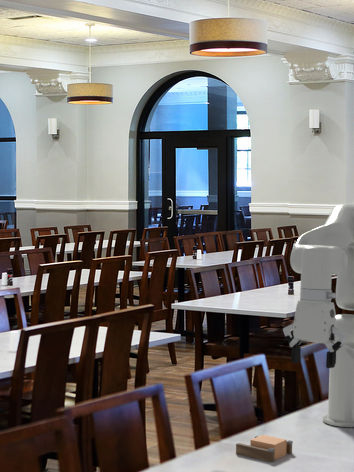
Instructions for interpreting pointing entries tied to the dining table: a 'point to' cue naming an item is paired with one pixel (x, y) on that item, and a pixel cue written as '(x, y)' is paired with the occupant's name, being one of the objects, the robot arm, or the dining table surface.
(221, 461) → the dining table surface
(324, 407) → the dining table surface
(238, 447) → the brown wooden rail pair
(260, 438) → the light orange block
